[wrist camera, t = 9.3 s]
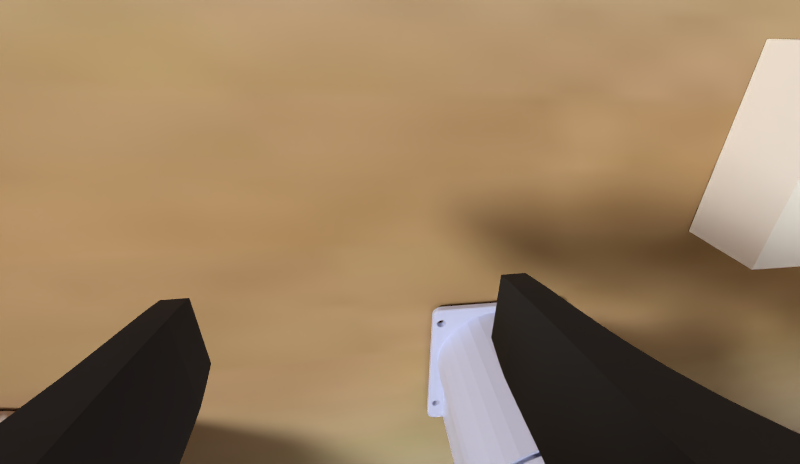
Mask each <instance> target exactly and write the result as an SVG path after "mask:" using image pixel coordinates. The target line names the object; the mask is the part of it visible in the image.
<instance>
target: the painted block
mask: <svg viewBox="0 0 800 464" xmlns="http://www.w3.org/2000/svg"><path fill="white" fill-rule="evenodd" d="M689 232H691V233H692V234H694V235H696V236H697V237H699V238H701V239H702V240H704V241H705V242H707V243H709V244H710V245H712V246H714V247H715V248H717V249H719V250H720V251H722V252H723V253H725V254H727V255H728V256H730V257H732V258H733V259H735V260H737V261H738V262H740V263H742V264H743V265H745V266H746V267H748V268H750V269H751V270H755V269H769V268H783V267H798V266H800V39H767V41H766V43H765V46H764V48H763V51H762V53H761V56H760V58H759V61H758V63H757V65H756V68H755V70H754V73H753V75H752V78H751V80H750V83H749V85H748V87H747V90H746V92H745V95H744V97H743V100H742V102H741V105H740V107H739V110H738V112H737V114H736V117H735V119H734V122H733V124H732V127H731V129H730V132H729V134H728V136H727V139H726V141H725V144H724V146H723V149H722V151H721V154H720V156H719V159H718V161H717V163H716V166H715V168H714V171H713V173H712V176H711V178H710V181H709V183H708V185H707V188H706V190H705V193H704V195H703V198H702V200H701V203H700V205H699V207H698V210H697V212H696V215H695V217H694V220H693V222H692V225H691V227H690V230H689Z"/></svg>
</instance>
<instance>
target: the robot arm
mask: <svg viewBox="0 0 800 464" xmlns="http://www.w3.org/2000/svg"><path fill="white" fill-rule="evenodd" d="M441 320H443V322H441V323H438V322H439V321H441ZM210 366H211V362H210V359H209V356H208V353H207V350H206V347H205V344H204V341H203V338H202V335H201V332H200V329H199V326H198V323H197V320H196V317H195V314H194V311H193V308H192V305H191V302H190V299H189V298H184V299H171V300H160V301H158V302H157V303H156V304H154V305H153V306H151V307H150V308H149V309H147V310H146V311H145V312H143V313H142V314H141V315H140V316H138V317H137V318H136V319H135V320H133V321H132V322H131V323H129V324H128V325H127V326H126V327H124V328H123V329H122V330H121V331H119V332H118V333H117V334H116V335H114V336H113V337H112V338H111V339H109V340H108V341H107V342H106V343H104V344H103V345H102V346H101V347H99V348H98V349H97V350H96V351H94V352H93V353H92V354H91V355H89V356H88V357H87V358H85V359H84V360H83V361H82V362H80V363H79V364H78V365H77V366H75V367H74V368H73V369H72V370H70V371H69V372H68V373H66V374H65V375H64V376H63V377H61V378H60V379H58V380H57V381H56V382H54V383H53V384H52V385H50V386H49V387H48V388H46V389H45V390H44V391H42V392H41V393H40V394H38V395H37V396H36V397H34V398H33V399H31V400H30V401H29V402H27V403H26V404H25V405H23V406H22V407H21V408H19V409H18V410H17V411H15V412H14V413H13V414H11V415H10V416H9V417H7V418H6V419H4V420H3V421H2V422H0V464H179V463H180V461H181V458H182V456H183V453H184V450H185V448H186V445H187V443H188V440H189V437H190V435H191V432H192V429H193V427H194V424H195V421H196V418H197V416H198V413H199V410H200V407H201V404H202V400H203V396H204V392H205V388H206V384H207V379H208V375H209V370H210ZM427 411H428V415H429V416H431V417H441V416H443V419H444V423H445V427H446V431H447V435H448V439H449V444H450V448H451V452H452V456H453V460H454V464H800V434H798V433H796V432H794V431H792V430H790V429H788V428H786V427H783V426H781V425H779V424H777V423H775V422H773V421H771V420H769V419H767V418H765V417H763V416H760V415H758V414H756V413H754V412H752V411H750V410H748V409H746V408H744V407H742V406H740V405H738V404H736V403H734V402H732V401H730V400H728V399H726V398H724V397H722V396H720V395H718V394H716V393H714V392H712V391H711V390H709V389H707V388H705V387H703V386H701V385H700V384H698V383H696V382H694V381H692V380H690V379H689V378H687V377H685V376H683V375H681V374H679V373H678V372H676V371H674V370H672V369H671V368H669V367H667V366H665V365H664V364H662V363H660V362H658V361H657V360H655V359H654V358H652V357H650V356H649V355H647V354H645V353H644V352H642V351H641V350H639V349H637V348H636V347H634V346H632V345H631V344H629V343H628V342H626V341H624V340H623V339H621V338H620V337H618V336H617V335H615V334H614V333H612V332H611V331H609V330H608V329H606V328H605V327H603V326H602V325H600V324H599V323H597V322H596V321H594V320H593V319H591V318H590V317H588V316H587V315H585V314H584V313H583V312H581V311H580V310H578V309H577V308H575V307H574V306H572V305H571V304H570V303H568V302H567V301H565V300H564V299H563V298H561V297H560V296H558V295H557V294H555V293H554V292H553V291H551V290H550V289H548V288H547V287H546V286H544V285H543V284H541V283H540V282H538V281H537V280H535V279H534V278H532V277H531V276H529V275H528V274H526V273H521V274H507V275H501V280H500V286H499V292H498V298H497V303H484V304H471V305H458V306H444V307H438V308H436V309H435V310H434V311H433V313H432V328H431V346H430V365H429V383H428V401H427Z"/></svg>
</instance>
